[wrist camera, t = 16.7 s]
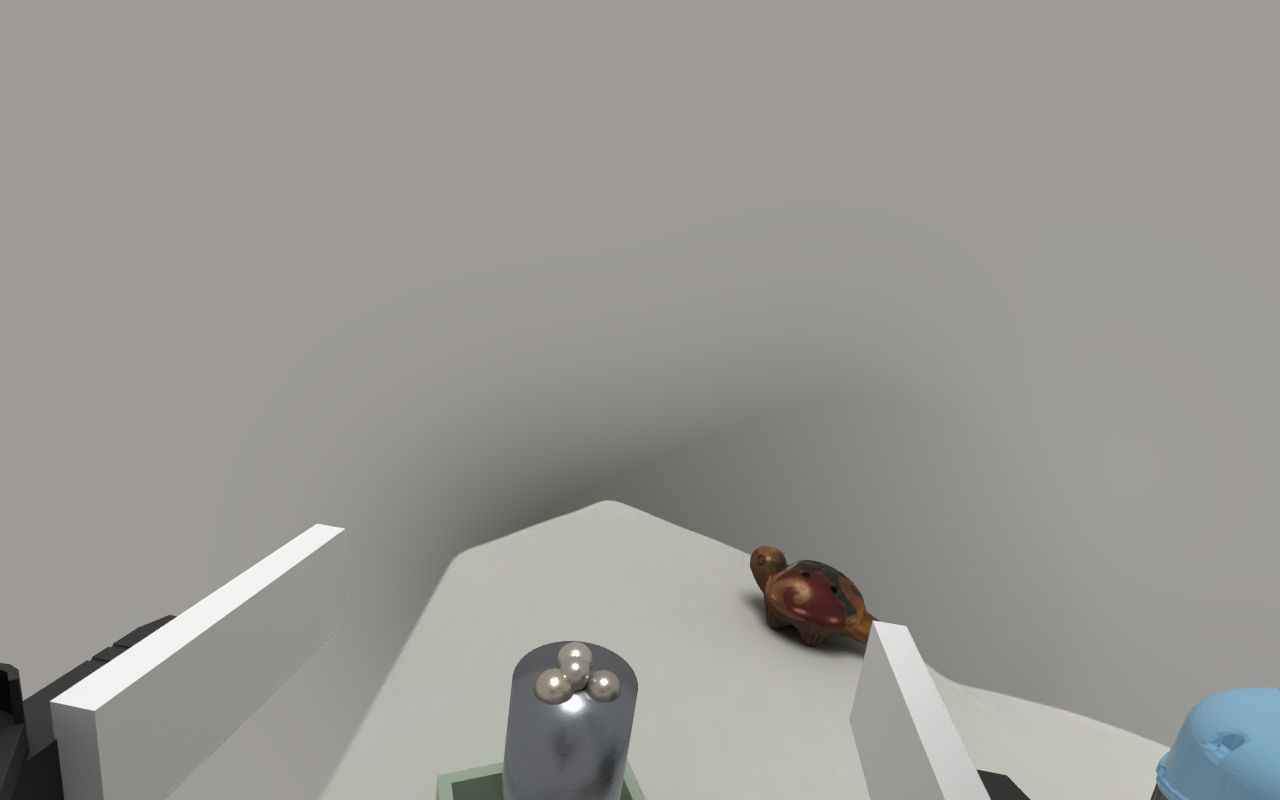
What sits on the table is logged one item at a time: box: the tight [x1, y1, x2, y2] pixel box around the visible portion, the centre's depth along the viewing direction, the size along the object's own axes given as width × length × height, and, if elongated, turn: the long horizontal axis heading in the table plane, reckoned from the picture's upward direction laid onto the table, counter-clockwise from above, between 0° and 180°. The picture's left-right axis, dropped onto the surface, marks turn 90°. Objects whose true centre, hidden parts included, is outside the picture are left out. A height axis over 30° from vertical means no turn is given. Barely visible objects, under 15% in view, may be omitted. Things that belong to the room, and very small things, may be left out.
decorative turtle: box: [750, 546, 880, 646], centre depth 69 cm, size 10×15×8 cm, turn 61°
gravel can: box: [500, 641, 638, 800], centre depth 37 cm, size 7×7×16 cm
